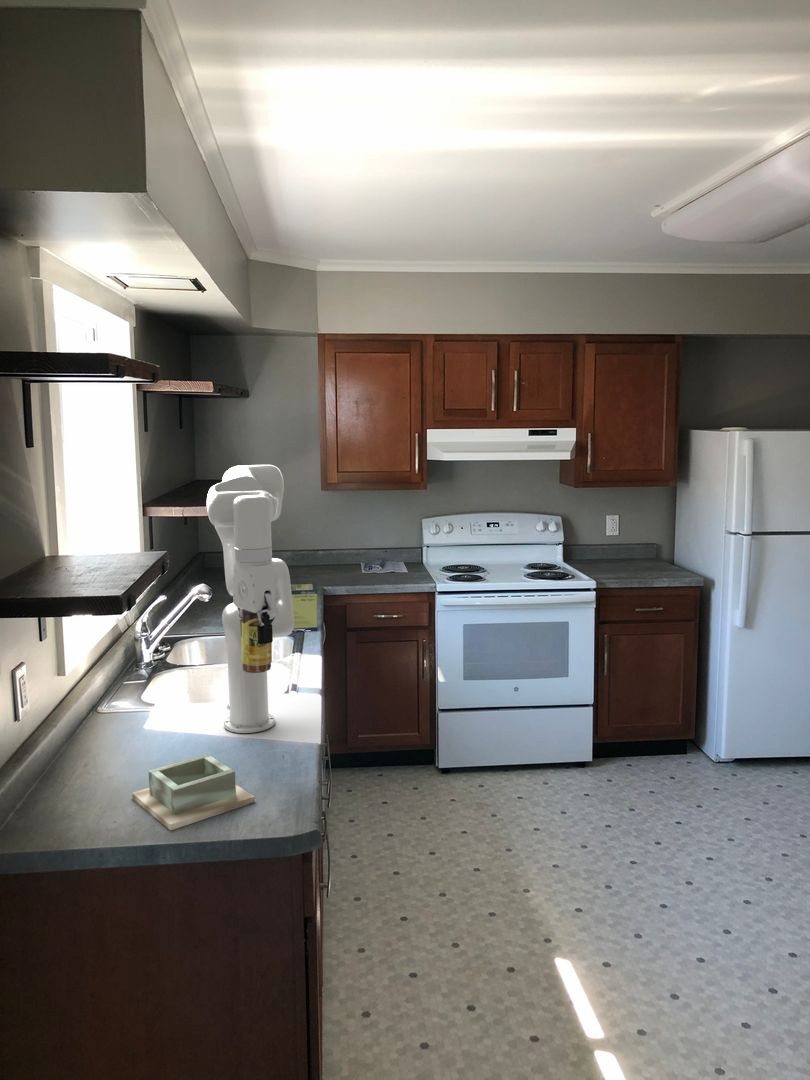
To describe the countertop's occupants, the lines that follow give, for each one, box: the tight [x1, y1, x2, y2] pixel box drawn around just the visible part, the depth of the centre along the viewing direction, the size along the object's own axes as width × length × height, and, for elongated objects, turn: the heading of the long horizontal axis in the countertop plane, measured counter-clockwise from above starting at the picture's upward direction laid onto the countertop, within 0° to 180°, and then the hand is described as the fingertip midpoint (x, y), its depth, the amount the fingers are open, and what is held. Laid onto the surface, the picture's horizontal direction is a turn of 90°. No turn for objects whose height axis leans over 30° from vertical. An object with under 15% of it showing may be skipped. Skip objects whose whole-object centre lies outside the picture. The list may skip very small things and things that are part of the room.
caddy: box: [131, 753, 255, 831], centre depth 172 cm, size 18×18×6 cm
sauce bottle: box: [242, 607, 273, 673], centre depth 178 cm, size 6×6×20 cm
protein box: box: [291, 583, 319, 632], centre depth 309 cm, size 10×16×16 cm
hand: (256, 639), depth 178 cm, fingers closed on sauce bottle, 6 cm apart
